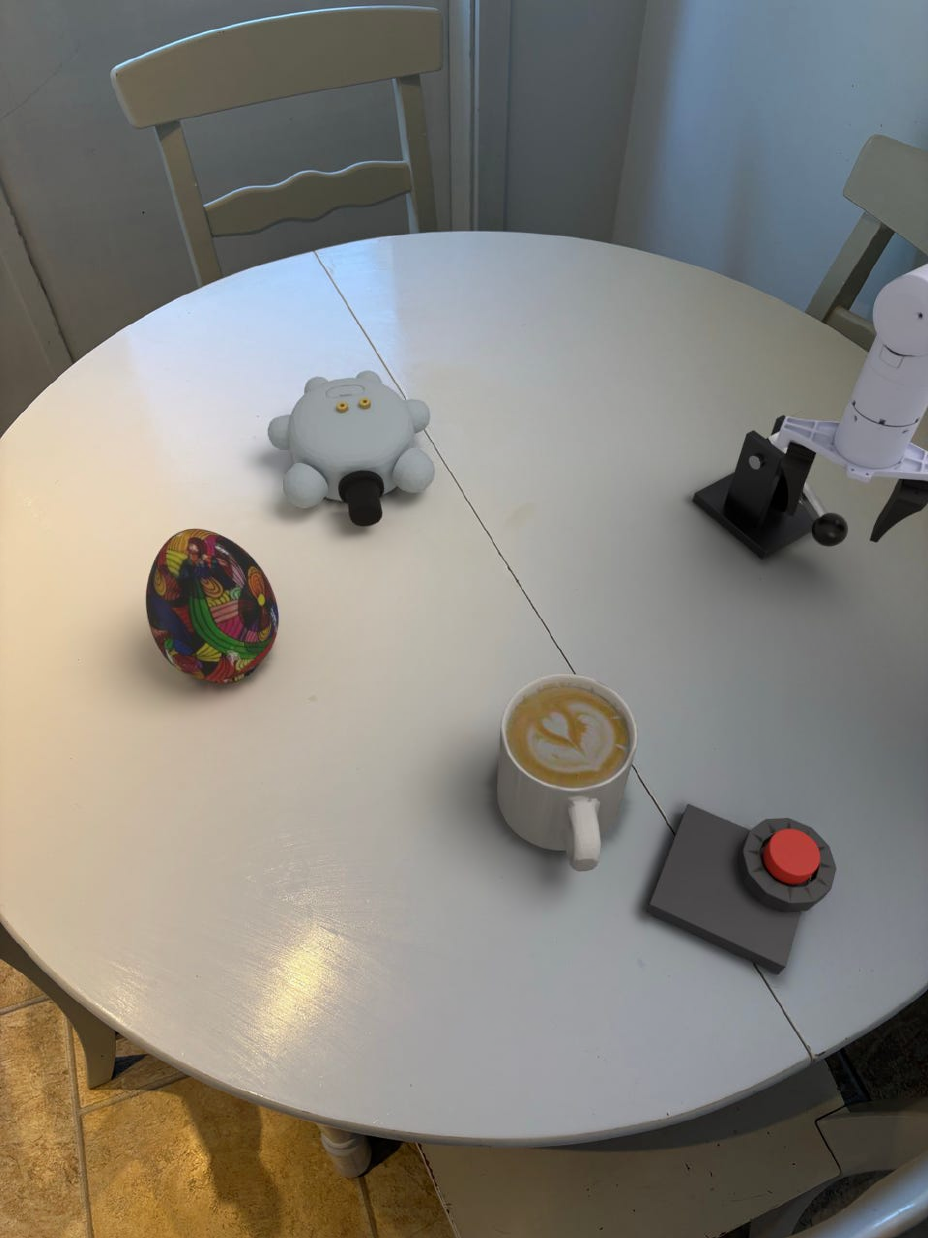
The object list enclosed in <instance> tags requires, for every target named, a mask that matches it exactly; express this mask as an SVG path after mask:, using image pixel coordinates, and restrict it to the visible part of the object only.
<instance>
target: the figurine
mask: <svg viewBox="0 0 928 1238" xmlns="http://www.w3.org/2000/svg"><path fill="white" fill-rule="evenodd" d="M303 393H304V394H303V395H302V396H301V397H300V398H299V399H298V401H297V402H296V403H295V405H294V407H293V408H292V410H291V413H290V414H284V415H280V416H277V417H274V418H272V419H271V421H270V422H269V423H268V427H267V437H268V440H269V442H270V444H271V445H272V446H273V447H275V448H276V449H279V450H281V451H290V454H291V458H292V462H293V464H292V466H291V467H290V468H289V470H287V471H286V473H285V475H284V476H283V479H282V491H283V494H284V497H285V499H286V500H287V501H288V503H290V504H291V505H293V506H294V507H295V506H296V507H297V508H300V509H309V508H313V507H315V506H317V505H319V504H320V503H321V502H322V501H323V499H324V498H327V499H330V500H333V501H340V502H344V503H345V504H346V505H347V510H348V517H349V521H350V522H351V523H352V524H353V525H355V526H357V527H362V528H364V527H366V528H367V527H371V526H374V525H376V524H378V523H379V522H380V521H381V520H382V518H383V508H382V503H381V502H382V501H381V498H382V496H384V495H386V494H387V493H390V492H391V491H394V489H395V488H397V487H398V488H399V489H401V490H402V491H404V492H407V493H411V494H413V493H414V494H415V493H421V492H423V491H426V490H427V489H428V488H429V487H431V484H432V483H433V482H434V480H435V476H436V475H435V474H436V468H435V464H434V461H433V460H432V458H431V457H430V456H429V455H428V454H427V453H426V452H424V451H423V450H421V448H420V449H419V448H418V447H415V435H416V434H418V433H420V432H422V431H424V430H425V429H426V428H427V427H428V426H429V424H430V421H431V411H430V407H429V406H428V405H427V403H426V402H424V401H423V400H421V399H417V398H416V399H415V398H410V399H409V398H408V399H403V397H401V395H400V394H399V393H398V392H397V391H395V390H394V389H393V388H391V387H389V386H388V385H386V384H384V383H383V381H382V379H381V377H380V376H379V374H378V373H376V372H375V371H373V370H364V371H363V370H362V371H361V372H359V373H357V375H356V377H345V378H339V379H334V380H328V379H326V377H322V376H313V377H311V378H310V379H308V380H307V381H306V383H305V386H304V388H303Z"/></svg>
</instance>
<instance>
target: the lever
mask: <svg viewBox="0 0 928 1238" xmlns="http://www.w3.org/2000/svg"><path fill="white" fill-rule="evenodd" d="M779 432H780V431H779ZM779 432H777V433H775V434H773V435H771V434H770V435H769V436H767V437H766V438H765V439H766V440H768V441H769V442H770V443H772V444H773V445H774V446H776V445H775V443H776V440H777V438H778V435H779ZM776 447H777V448H778V449H780V450H781V451H782V452H784V453H786V451H787V448H788V447H787V448H783V447H780V446H776ZM782 474H783V475H784V477H785V474H784V471H783V470H782ZM785 478H786V477H785ZM799 502H800V503H801V504H803V505H804V507H805V508H806V510H807V511H808V513H809V514H810V516H811V517H812V519H813V520H814V523H813V525H812V530H811V531H810V532H811V536H812V538H813V540H814V542H816V543H817V544H818V545H820V546H823V547H828V548H829V547H830V548H831V547H832V548H833V547H835V546H838V545H840V544H842V543H843V542H844V541H845V539H846V538H847V536H848V533H849V524H848V522H847V521H846V519H845V518H844V517H843V516H842V515H841V514H838V513H836V512H829V511H828V510H827V509H826V507H825V505H824V504H823V502H822V501H821V500H820V498H819V496H817V494H816V493H815V491H814V490H813V487H812V486H811V485H810V484H809V482H808V481H807V480H806V481H805V485H804V489H803V492H802V495H801V498H800V501H799Z"/></svg>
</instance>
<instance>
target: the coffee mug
mask: <svg viewBox="0 0 928 1238" xmlns="http://www.w3.org/2000/svg"><path fill="white" fill-rule="evenodd" d="M499 730H500V732H499V746H498V747H499V748H498V762H497V763H498V765H497V785H496V799H497V802H498V807H499V810H500V813H501V815H502V817H503V818H504V819H505V822H506V824H507V825H508V826H509V827H510V829H512V830H513V832H515V834H517V836H519V837H520V838H521V839H523V840H525V841H526V842H528V843H530V844H531V845H534V846H536V847H539V848H541V849H546V850H550V851H559V852H561V851H565V852H566V856H567V860H568V863H569V865H570V867H571V868H572V869H573V871H576V872H589V871H592V870H594V869H596V867H597V866H598V864H599V863H600V855H601V848H602V847H601V846H602V843H601V838H602V837H603V836H605V835H606V834H607V832H608V831H609V830H610V829H611V827H612V826H613V824H614V823H615V821H616V818H617V816H618V813H619V809H620V806H621V802H622V800H623V796H624V792H625V790H626V786H627V783H628V779H629V776H630V773H631V769H632V766H633V762H634V760H635V755H636V752H637V749H638V739H639V737H638V735H639V734H638V727H637V722H636V720H635V717H634V714H633V712H632V710H631V708H630V707H629V705H628V703H626V701H625V700H624V699H623V697H621V696H620V695H619V694H618V693H617V692H616V691H615V690H614V689H613V688H611V687H610V686H608V685H607V684H605V683H603V682H601V681H599V680H597V679H595V678H592V677H589V676H585V675H581V674H578V673H577V674H576V673H554V674H548V675H544V676H540V677H538V678H535V679H533V680H531V681H530V682H527V683H526V684H524V685H523V686H522V687H521V688H519V689H518V690H517V691H516V692H514V694H513V695H512V696H511V698H510V699H509V700H508V702H507V704H506V706H505V708H504V710H503V713H502V716H501V721H500V729H499Z"/></svg>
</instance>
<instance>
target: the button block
mask: <svg viewBox="0 0 928 1238" xmlns="http://www.w3.org/2000/svg"><path fill="white" fill-rule="evenodd" d="M783 829H795V830H799V831H801V832H803V833H805V834H807V835H808V836H809V837H810V838H812V840H813V841H814V842H815V843H816V845H817V847H818V849H819V852H820V863H819V866H818V867H817V869H816V870H815V871H814V873H813V874H812V875H811V877H810V878H809V879H808V880H807V881H805V882H803V883H801V884H796V885H792V884H786V883H783V882H781V881H779V880H777V879H776V878H775V877H773V876H772V875H771V874H770V872H769V871H768V870H767V868H766V866H765V863H764V859H763V853H764V850H765V847H766V846H767V844H768V842H769V841H770V839H771V838H772V836H773V835H774V834H775V833H776V832H778V831H780V830H783ZM836 872H837V865H836V863H835V859H834V857H833V854H832V851H831V848H830V846H829V844H828V843H827V842H826V841H825V840H824V839H823V838H822V836H820V835H819V834H818V833H817V831H815V829H814V828H813V827H811V826H810V825H809V826H808V825H807V824H804V823H801V822H799V821H797V820H794V819H792V818H789V817H781V818H780V817H779V818H766V819H764V820H762V821H761V822H759V823H758V824H757V825H755V826H754V827H753V828H751V829H749V828H747V827H744V826H743V825H740V824H737V823H735V822H732V821H731V820H728V819H725V818H724V817H721V816H718V815H716V814H714V813H711V812H709V811H707V810H704V809H701V808H699V807H698V806H695V805H692V804H690V803H687V804H686V807H685V809H684V811H683V814H682V816H681V819H680V822H679V824H678V827H677V830H676V831H675V835H674V837H673V840H672V843H671V844H670V848H669V851H668V853H667V855H666V857H665V861H664V864H663V865H662V869H661V871H660V874H659V877H658V879H657V882H656V884H655V887H654V890H653V892H652V895H651V898H650V901H649V903H648V905H647V908H646V911H645V912H646V913H647V914H649V915H651V916H654V917H656V918H657V919H660V920H662V921H664V922H666V923H668V924H671V925H672V926H675V927H677V928H680V929H681V930H683V931H685V932H687V933H689V934H692V935H694V936H696V937H698V938H700V939H702V940H705V941H707V942H709V943H711V944H713V945H714V946H717V947H718V948H719V947H720V948H722V949H724V950H726V951H728V952H730V953H733V954H734V955H737V956H739V957H741V958H743V959H745V960H747V961H750V962H752V963H753V964H756V965H758V966H759V967H760V966H761V967H763V968H765V969H766V970H768V971H771V972H773V973H775V974H777V975H780V974H781V973H782V972H783V970H784V969H785V968H786V967H787V964H788V959H789V957H790V952H791V948H792V945H793V942H794V938H795V935H796V932H797V927H798V924H799V919H800V915H801V912H807V911H809V910H811V908H813V907H814V906H816V905H817V904H818V903H819V902H821V901H822V900H823V899H825V897H826V896H827V895H828V894H829V893H830V892H831V890H832V888H833V884H834V881H835V877H836Z"/></svg>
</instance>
